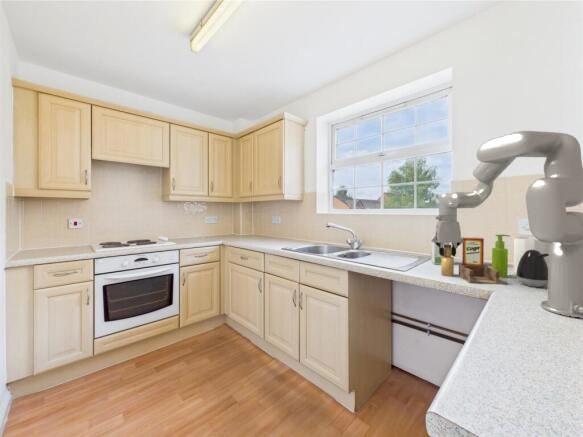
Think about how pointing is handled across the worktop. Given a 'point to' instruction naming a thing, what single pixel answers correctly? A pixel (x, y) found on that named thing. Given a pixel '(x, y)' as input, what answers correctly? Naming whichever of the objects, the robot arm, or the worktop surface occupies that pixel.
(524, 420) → the worktop surface
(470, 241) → the baking soda box
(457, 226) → the robot arm
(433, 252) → the skincare box
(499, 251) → the soap dispenser
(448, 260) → the amber bottle
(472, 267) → the open wooden box
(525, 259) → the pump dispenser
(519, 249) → the container
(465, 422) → the worktop surface
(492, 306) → the worktop surface
